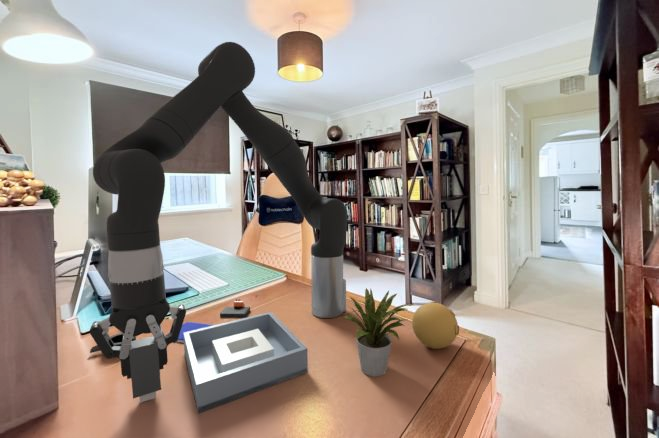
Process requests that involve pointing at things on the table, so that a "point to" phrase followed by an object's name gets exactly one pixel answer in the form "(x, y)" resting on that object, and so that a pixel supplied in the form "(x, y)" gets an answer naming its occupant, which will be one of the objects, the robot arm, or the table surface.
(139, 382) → the plug
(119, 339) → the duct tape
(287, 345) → the walled box
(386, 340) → the house plant
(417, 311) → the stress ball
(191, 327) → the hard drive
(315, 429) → the table surface
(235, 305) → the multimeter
